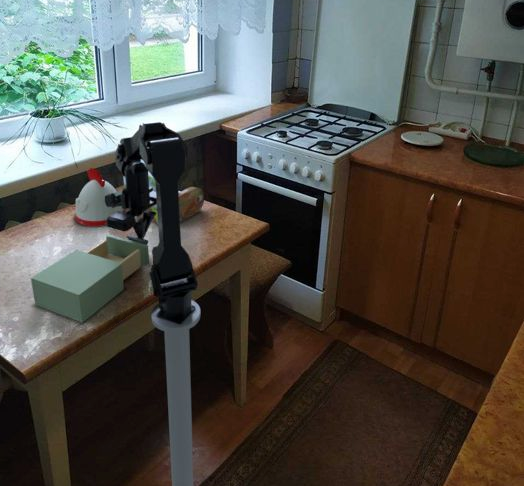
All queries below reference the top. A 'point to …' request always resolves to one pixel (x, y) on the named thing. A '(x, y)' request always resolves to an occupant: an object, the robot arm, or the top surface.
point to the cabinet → (77, 285)
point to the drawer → (123, 252)
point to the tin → (190, 202)
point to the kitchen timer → (95, 201)
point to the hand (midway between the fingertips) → (141, 239)
